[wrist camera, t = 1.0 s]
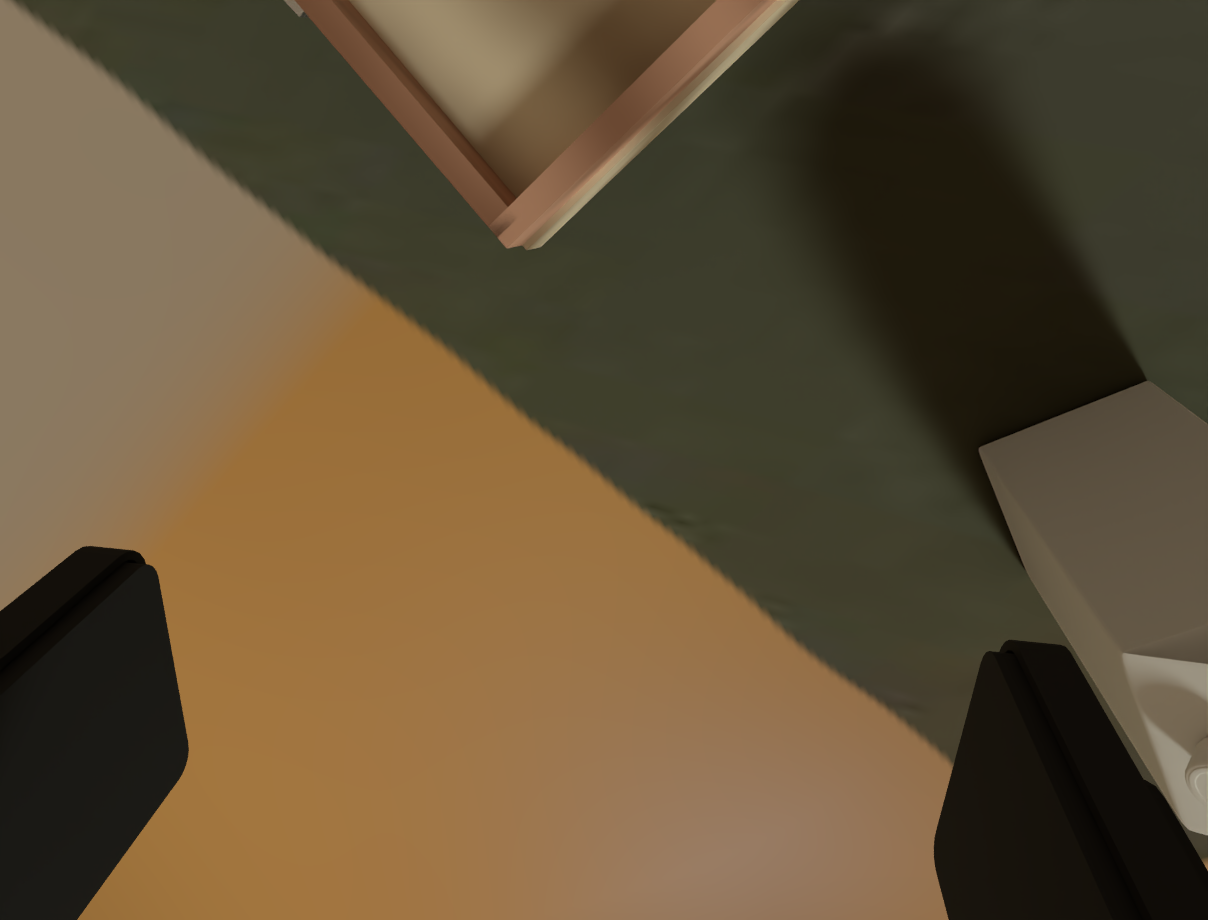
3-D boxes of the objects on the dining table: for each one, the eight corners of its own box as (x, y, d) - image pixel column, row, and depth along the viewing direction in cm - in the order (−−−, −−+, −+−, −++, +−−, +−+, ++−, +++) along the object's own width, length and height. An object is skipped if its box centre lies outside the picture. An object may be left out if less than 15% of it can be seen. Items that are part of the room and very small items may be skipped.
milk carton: (1147, 376, 38) (1522, 654, 21) (1192, 517, 40) (1563, 873, 23) (975, 445, 40) (1186, 752, 22) (1027, 575, 42) (1255, 946, 25)
